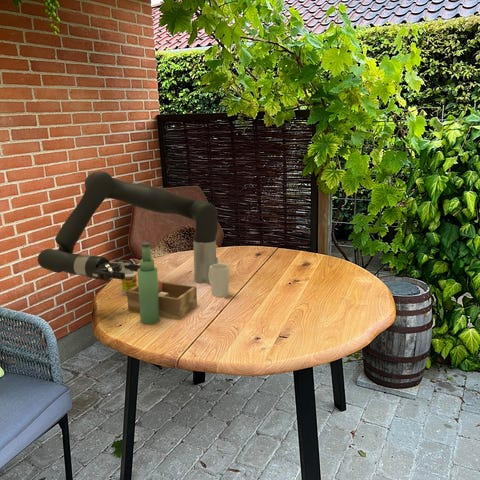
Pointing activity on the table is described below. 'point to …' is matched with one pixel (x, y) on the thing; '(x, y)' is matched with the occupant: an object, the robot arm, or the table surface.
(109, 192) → the robot arm
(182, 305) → the crate
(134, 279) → the supplement bottle
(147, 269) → the green bottle
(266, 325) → the table surface
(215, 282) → the mug
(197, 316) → the table surface
